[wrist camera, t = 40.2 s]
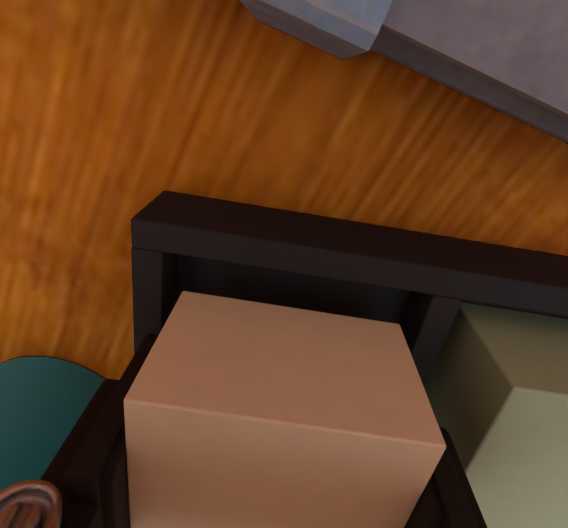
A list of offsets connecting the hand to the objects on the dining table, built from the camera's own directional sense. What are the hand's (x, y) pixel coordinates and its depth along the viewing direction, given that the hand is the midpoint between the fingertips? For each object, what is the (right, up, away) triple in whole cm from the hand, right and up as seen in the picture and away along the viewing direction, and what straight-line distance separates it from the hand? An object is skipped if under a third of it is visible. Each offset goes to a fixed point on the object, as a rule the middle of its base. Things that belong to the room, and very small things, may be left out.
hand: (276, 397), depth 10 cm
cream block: (0, 0, 0) cm, 1 cm away
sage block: (+8, 0, +2) cm, 8 cm away
